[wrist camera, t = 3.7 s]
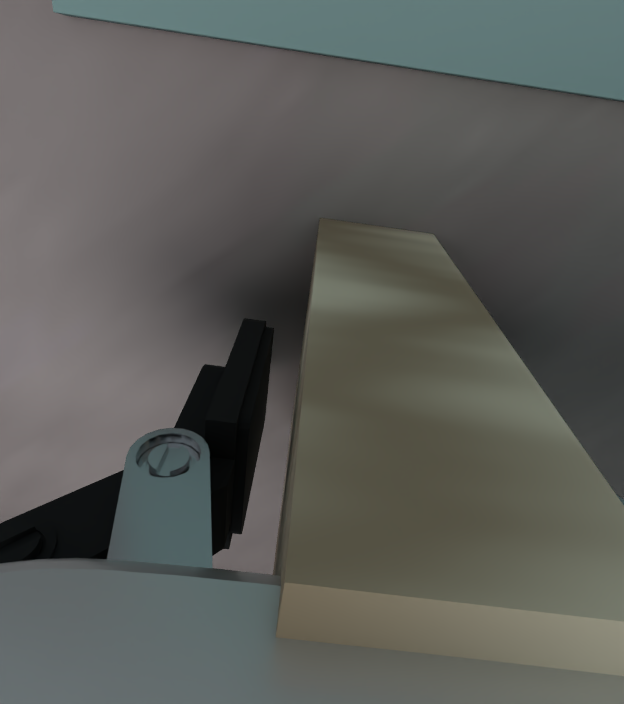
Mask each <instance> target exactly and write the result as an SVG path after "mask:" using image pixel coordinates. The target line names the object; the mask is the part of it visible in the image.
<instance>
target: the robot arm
mask: <svg viewBox="0 0 624 704" xmlns="http://www.w3.org/2000/svg"><path fill="white" fill-rule="evenodd" d="M273 333H274V328H269V327H266V321H259V320H252V319H244V320H243V322H242V325H241V327H240V330H239V333H238V335H237V338H236V340H235V343H234V346H233V348H232V351H231V353H230V356H229V359H228V361H227V364H226V367H221V366H214V365H206V364H205V365H204V366H203V367H202V369H201V371H200V373H199V376H198V378H197V380H196V382H195V384H194V386H193V388H192V391H191V393H190V395H189V397H188V399H187V401H186V403H185V406H184V408H183V410H182V412H181V414H180V416H179V418H178V421H177V423H176V425H175V427H174V428H167V429H159V430H156V431H153V432H150V433H148V434H146V435H144V436H143V437H141V438H139V439H138V440H137V441H136V442H135V443H134V444H133V445H132V446H131V447H130V449H129V452H128V454H127V456H126V462H125V467H124V470H122V471H120V472H118V473H115V474H113V475H111V476H109V477H106V478H104V479H102V480H99V481H97V482H95V483H92V484H90V485H88V486H85V487H83V488H81V489H79V490H76V491H74V492H72V493H69V494H67V495H65V496H62V497H60V498H58V499H55V500H53V501H51V502H49V503H46V504H44V505H42V506H39V507H37V508H35V509H32V510H30V511H28V512H25V513H23V514H21V515H19V516H16V517H14V518H12V519H9V520H7V521H5V522H3V523H1V524H0V704H624V676H618V675H609V674H601V673H592V672H583V671H574V670H566V669H557V668H549V667H540V666H532V665H523V664H514V663H506V662H497V661H488V660H479V659H470V658H461V657H452V656H443V655H434V654H425V653H416V652H407V651H398V650H388V649H379V648H370V647H361V646H351V645H342V644H333V643H323V642H314V641H305V640H296V639H287V638H277V637H276V628H277V619H278V609H279V599H280V589H281V576H278V575H269V574H260V573H251V572H241V571H232V570H223V569H214V568H212V556H213V555H214V554H216V553H217V552H219V551H221V550H222V549H229V547H230V542H231V538H232V533H235V534H242V531H243V526H244V521H245V516H246V511H247V506H248V501H249V496H250V491H251V486H252V481H253V477H254V472H255V467H256V462H257V457H258V452H259V447H260V442H261V437H262V432H263V427H264V421H265V414H266V404H267V394H268V384H269V374H270V363H271V353H272V343H273ZM616 495H617V494H616ZM617 497H618V498H619V500H620V501H621V502H622V504H623V505H624V500H623V499H622V498H621V497H619V496H618V495H617Z"/></svg>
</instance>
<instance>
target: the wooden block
mask: <svg viewBox="0 0 624 704" xmlns="http://www.w3.org/2000/svg"><path fill="white" fill-rule="evenodd" d="M273 575H278V576H281V589H280V599H279V609H278V619H277V628H276V637H277V638H287V639H296V640H305V641H314V642H323V643H333V644H342V645H351V646H361V647H370V648H379V649H388V650H398V651H407V652H416V653H425V654H434V655H443V656H452V657H461V658H470V659H479V660H488V661H497V662H506V663H514V664H523V665H532V666H540V667H549V668H557V669H566V670H574V671H583V672H592V673H601V674H609V675H618V676H624V505H623V504H622V502H621V501H620V500H619V498H618V497H617V495H616V494H615V492H614V491H613V490H612V488H611V487H610V485H609V484H608V482H607V481H606V480H605V478H604V477H603V475H602V474H601V472H600V471H599V470H598V468H597V467H596V465H595V464H594V462H593V461H592V460H591V458H590V457H589V455H588V454H587V452H586V451H585V450H584V448H583V447H582V445H581V444H580V442H579V441H578V440H577V438H576V437H575V435H574V434H573V433H572V431H571V430H570V428H569V427H568V425H567V424H566V423H565V421H564V420H563V418H562V417H561V415H560V414H559V413H558V411H557V410H556V408H555V407H554V405H553V404H552V403H551V401H550V400H549V398H548V397H547V395H546V394H545V393H544V391H543V390H542V388H541V387H540V385H539V384H538V383H537V381H536V380H535V378H534V377H533V375H532V374H531V373H530V371H529V370H528V368H527V367H526V365H525V364H524V363H523V361H522V360H521V358H520V357H519V355H518V354H517V353H516V351H515V350H514V348H513V347H512V346H511V344H510V343H509V341H508V340H507V338H506V337H505V336H504V334H503V333H502V331H501V330H500V328H499V327H498V326H497V324H496V323H495V321H494V320H493V318H492V317H491V316H490V314H489V313H488V311H487V310H486V308H485V307H484V306H483V304H482V303H481V301H480V300H479V298H478V297H477V296H476V294H475V293H474V291H473V290H472V288H471V287H470V286H469V284H468V283H467V281H466V280H465V278H464V277H463V276H462V274H461V273H460V271H459V270H458V268H457V267H456V266H455V264H454V263H453V261H452V260H451V259H450V257H449V256H448V254H447V253H446V251H445V250H444V249H443V247H442V246H441V244H440V243H439V241H438V240H437V239H436V237H435V236H434V234H430V233H423V232H416V231H409V230H402V229H395V228H388V227H381V226H374V225H367V224H360V223H353V222H346V221H339V220H332V219H325V218H320V220H319V228H318V235H317V242H316V249H315V257H314V264H313V271H312V278H311V285H310V293H309V300H308V307H307V314H306V322H305V329H304V336H303V343H302V351H301V358H300V365H299V372H298V380H297V387H296V394H295V401H294V408H293V416H292V423H291V431H290V439H289V447H288V455H287V464H286V472H285V480H284V488H283V496H282V504H281V513H280V521H279V529H278V537H277V545H276V553H275V562H274V570H273Z"/></svg>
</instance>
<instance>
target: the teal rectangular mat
mask: <svg viewBox="0 0 624 704" xmlns="http://www.w3.org/2000/svg"><path fill="white" fill-rule="evenodd" d="M52 4H53V11H54V12H56V13H59V14H63V15H67V16H73V17H80V18H86V19H92V20H99V21H105V22H112V23H118V24H125V25H131V26H138V27H144V28H151V29H157V30H164V31H170V32H176V33H183V34H189V35H196V36H202V37H209V38H215V39H222V40H228V41H235V42H241V43H248V44H254V45H260V46H267V47H273V48H280V49H286V50H293V51H299V52H306V53H312V54H319V55H325V56H332V57H338V58H344V59H351V60H357V61H364V62H370V63H377V64H383V65H390V66H396V67H403V68H409V69H416V70H422V71H428V72H435V73H441V74H448V75H454V76H461V77H467V78H474V79H480V80H487V81H493V82H500V83H506V84H512V85H519V86H525V87H532V88H538V89H545V90H551V91H558V92H564V93H571V94H577V95H584V96H590V97H596V98H603V99H609V100H616V101H622V102H624V0H52Z"/></svg>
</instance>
